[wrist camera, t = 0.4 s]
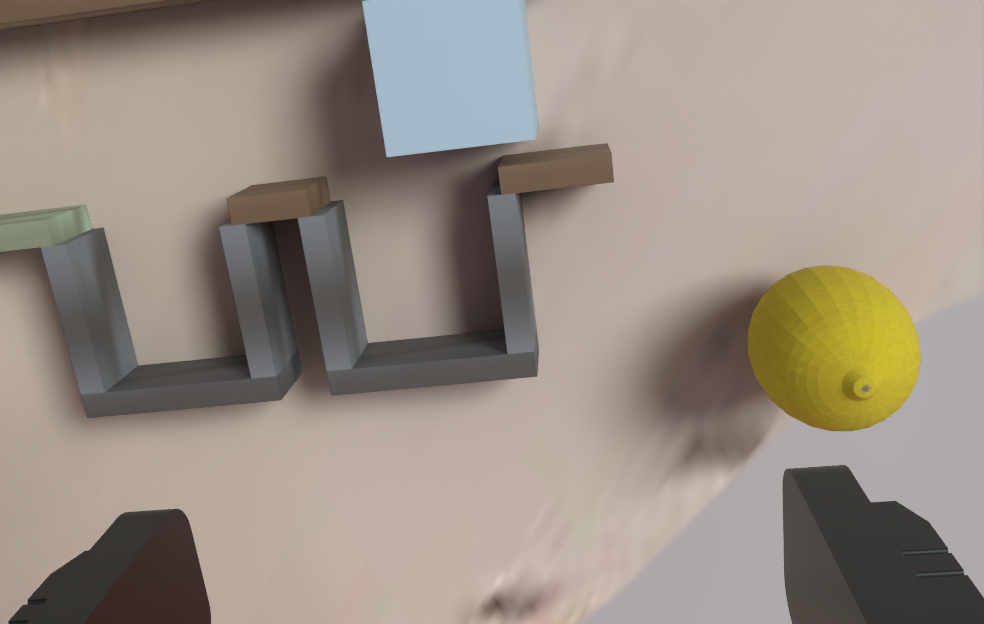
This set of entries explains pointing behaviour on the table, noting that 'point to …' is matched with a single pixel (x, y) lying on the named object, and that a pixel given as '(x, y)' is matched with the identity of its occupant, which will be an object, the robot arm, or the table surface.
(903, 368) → the lemon
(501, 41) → the block
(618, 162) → the table surface
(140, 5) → the trap box
